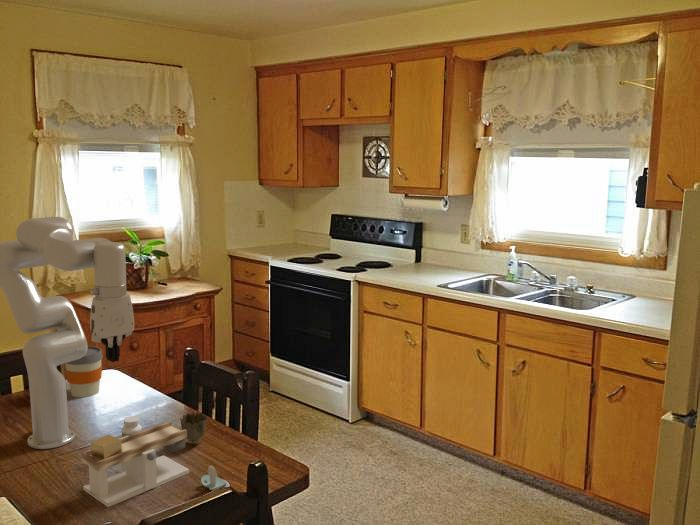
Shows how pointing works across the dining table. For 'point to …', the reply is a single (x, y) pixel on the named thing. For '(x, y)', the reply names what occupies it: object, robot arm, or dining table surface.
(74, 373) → the reusable coffee cup
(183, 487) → the dining table surface
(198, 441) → the cup
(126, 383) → the dining table surface
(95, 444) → the slider weight
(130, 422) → the supplement bottle
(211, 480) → the pacifier
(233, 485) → the dining table surface
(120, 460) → the balance beam
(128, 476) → the beam stand
